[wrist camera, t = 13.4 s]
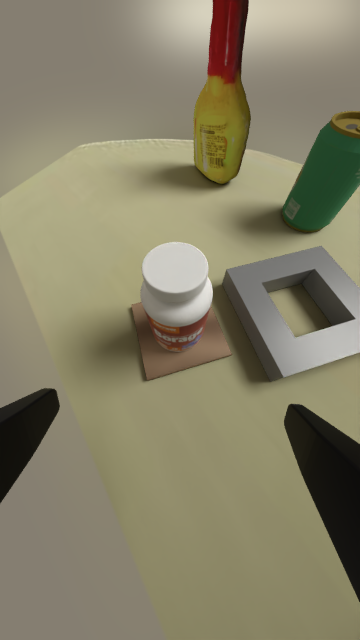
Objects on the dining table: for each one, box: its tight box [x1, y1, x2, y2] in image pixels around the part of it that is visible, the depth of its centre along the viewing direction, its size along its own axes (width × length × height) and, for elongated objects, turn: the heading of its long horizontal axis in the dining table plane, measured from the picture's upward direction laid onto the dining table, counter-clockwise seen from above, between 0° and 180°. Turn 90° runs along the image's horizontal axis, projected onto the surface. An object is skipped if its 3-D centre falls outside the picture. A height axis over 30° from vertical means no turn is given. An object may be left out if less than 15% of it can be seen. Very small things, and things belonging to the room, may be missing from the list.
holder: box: [222, 246, 360, 382], centre depth 23 cm, size 14×14×3 cm
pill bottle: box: [141, 242, 213, 352], centre depth 18 cm, size 6×6×11 cm
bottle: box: [194, 0, 251, 184], centre depth 30 cm, size 12×6×20 cm, turn 35°
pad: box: [132, 302, 232, 381], centre depth 23 cm, size 10×10×1 cm
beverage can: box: [282, 111, 360, 232], centre depth 27 cm, size 8×8×12 cm
